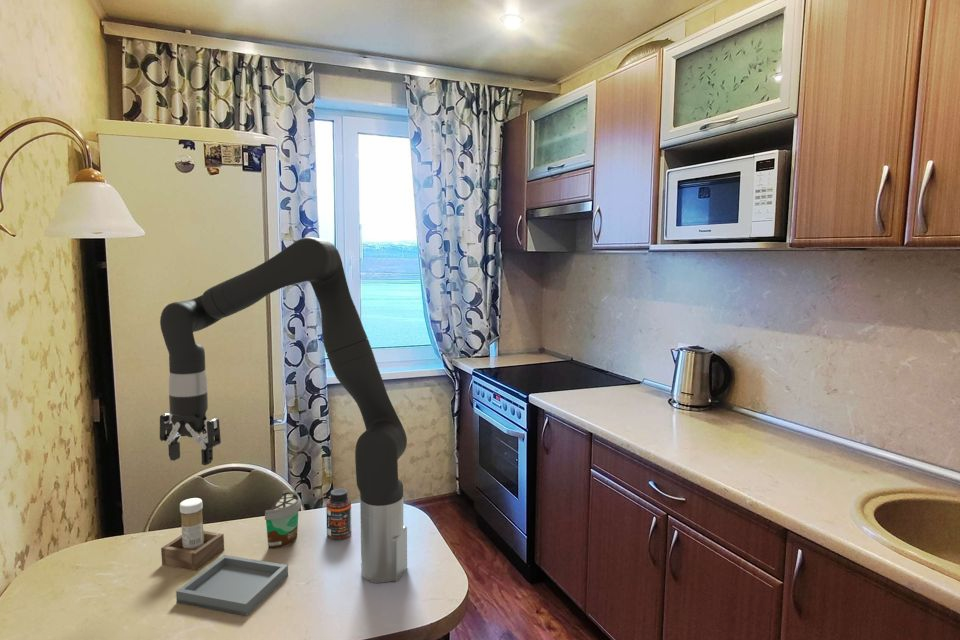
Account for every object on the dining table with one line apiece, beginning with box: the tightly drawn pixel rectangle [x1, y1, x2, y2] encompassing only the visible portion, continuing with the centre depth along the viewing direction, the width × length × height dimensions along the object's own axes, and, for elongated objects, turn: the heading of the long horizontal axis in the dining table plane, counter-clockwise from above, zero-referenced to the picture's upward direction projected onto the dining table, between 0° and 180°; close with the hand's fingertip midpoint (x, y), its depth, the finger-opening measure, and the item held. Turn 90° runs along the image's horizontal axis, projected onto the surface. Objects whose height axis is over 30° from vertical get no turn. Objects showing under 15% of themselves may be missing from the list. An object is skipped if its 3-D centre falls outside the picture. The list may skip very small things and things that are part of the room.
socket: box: [160, 530, 225, 572], centre depth 128 cm, size 9×9×4 cm
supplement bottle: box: [326, 488, 352, 541], centre depth 138 cm, size 6×6×11 cm
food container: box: [264, 489, 302, 550], centre depth 136 cm, size 12×6×10 cm, turn 179°
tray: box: [175, 554, 289, 617], centre depth 116 cm, size 16×14×2 cm
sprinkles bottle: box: [179, 497, 205, 551], centre depth 127 cm, size 5×5×13 cm
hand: (190, 461), depth 125 cm, fingers open, 8 cm apart
